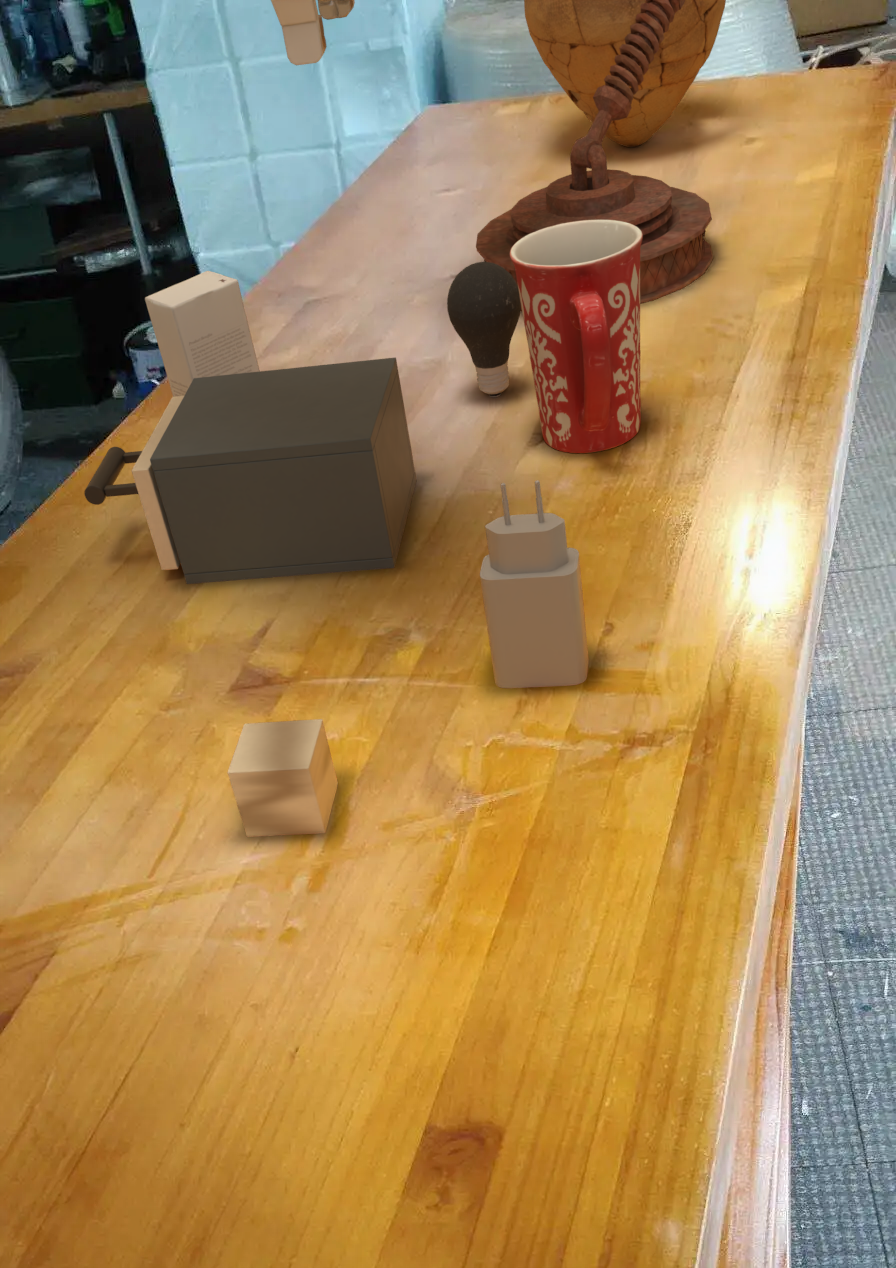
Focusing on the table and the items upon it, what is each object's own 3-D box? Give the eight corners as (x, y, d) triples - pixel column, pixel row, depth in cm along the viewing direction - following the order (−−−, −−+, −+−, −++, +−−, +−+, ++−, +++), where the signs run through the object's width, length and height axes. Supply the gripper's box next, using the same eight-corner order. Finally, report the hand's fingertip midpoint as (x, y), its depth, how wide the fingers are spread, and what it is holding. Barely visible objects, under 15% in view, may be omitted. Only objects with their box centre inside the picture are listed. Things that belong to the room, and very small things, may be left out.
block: (246, 837, 79) (226, 772, 76) (262, 787, 82) (243, 723, 79) (325, 834, 78) (308, 768, 75) (338, 783, 81) (322, 718, 78)
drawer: (94, 576, 101) (60, 476, 97) (136, 498, 110) (106, 403, 105) (352, 555, 98) (331, 451, 93) (376, 476, 106) (357, 377, 101)
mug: (526, 415, 112) (506, 229, 103) (644, 398, 112) (635, 209, 102) (536, 490, 103) (515, 294, 94) (664, 472, 102) (656, 272, 93)
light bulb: (450, 411, 115) (431, 279, 108) (472, 380, 119) (455, 251, 112) (519, 411, 113) (503, 277, 106) (539, 380, 117) (525, 248, 110)
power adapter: (586, 685, 85) (568, 492, 77) (493, 689, 86) (466, 499, 78) (589, 655, 87) (572, 464, 79) (499, 660, 88) (473, 472, 80)
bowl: (520, 140, 165) (499, -73, 151) (694, 103, 165) (689, -112, 152) (564, 192, 149) (545, -40, 136) (756, 151, 150) (756, -83, 136)
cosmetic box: (246, 421, 119) (209, 268, 111) (276, 434, 117) (240, 278, 108) (184, 450, 117) (142, 296, 109) (213, 463, 114) (172, 306, 106)
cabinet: (186, 585, 101) (149, 459, 94) (225, 498, 109) (193, 378, 103) (394, 568, 98) (370, 438, 92) (416, 481, 107) (396, 357, 101)
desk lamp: (374, 318, 132) (274, -252, 104) (620, 202, 145) (589, -332, 117) (536, 365, 119) (471, -270, 92) (790, 233, 132) (799, -357, 105)
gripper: (246, -313, 76) (300, -1, 85) (147, -274, 61) (226, 98, 71) (365, -334, 75) (407, -16, 84) (294, -299, 60) (354, 81, 70)
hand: (324, 37), depth 77 cm, fingers open, 8 cm apart
